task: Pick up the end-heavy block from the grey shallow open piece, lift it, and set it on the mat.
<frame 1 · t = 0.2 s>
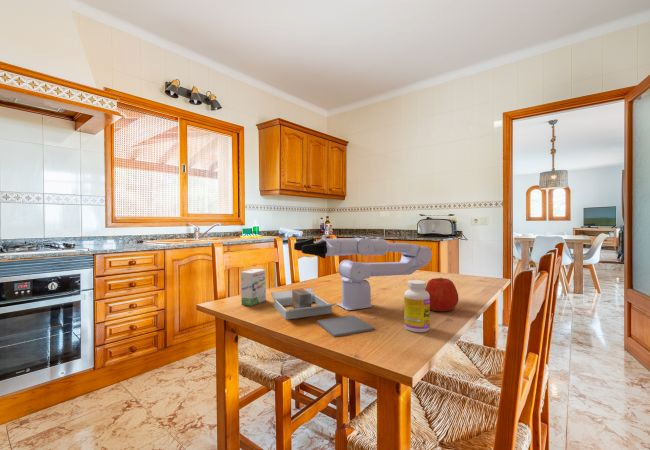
hand: (298, 248, 96), 21 cm above the table, tool horizontal, fingers open, 7 cm apart
grey shallow open piece: (301, 309, 101), on the table
apple: (440, 310, 100), on the table
mat: (344, 326, 85), on the table
end-heavy block: (301, 309, 101), resting in grey shallow open piece
ink box: (254, 303, 111), on the table
supplement bottle: (417, 329, 82), on the table
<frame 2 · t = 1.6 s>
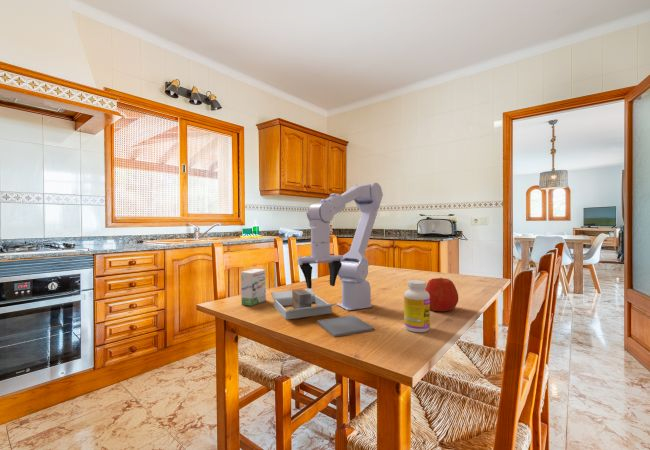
hand: (320, 286, 93), 9 cm above the table, tool pointing down, fingers open, 7 cm apart
nothing on the table moved.
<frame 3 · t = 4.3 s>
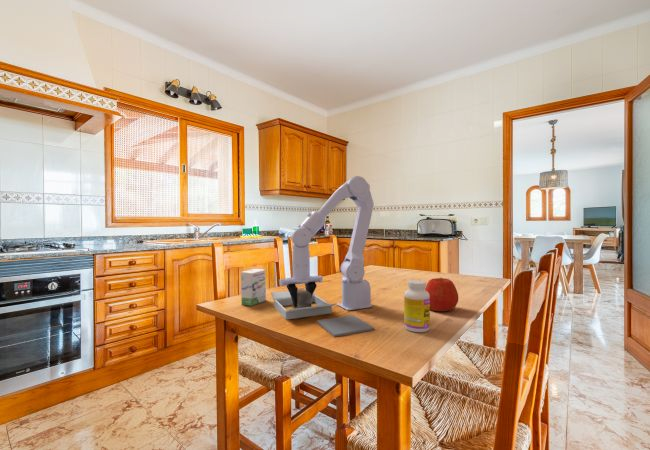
hand: (301, 305, 101), 1 cm above the table, tool pointing down, fingers closed on end-heavy block, 4 cm apart
end-heavy block: (301, 309, 101), resting in grey shallow open piece, touching gripper
everything else where it was.
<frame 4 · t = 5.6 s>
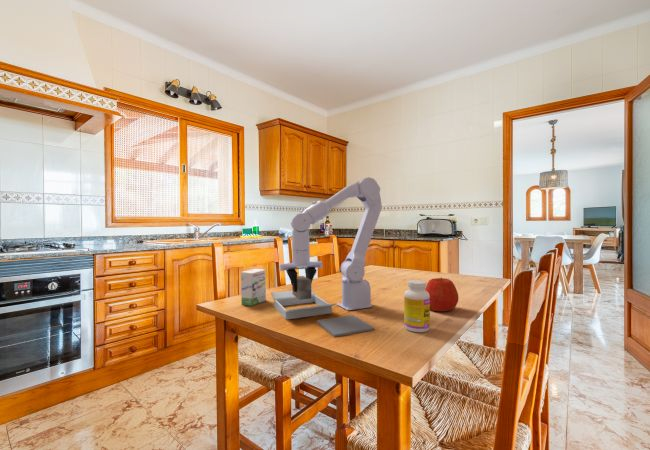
hand: (301, 290, 101), 6 cm above the table, tool pointing down, fingers closed on end-heavy block, 4 cm apart
end-heavy block: (301, 296, 101), point 4 cm above the table, touching gripper
everything else where it was.
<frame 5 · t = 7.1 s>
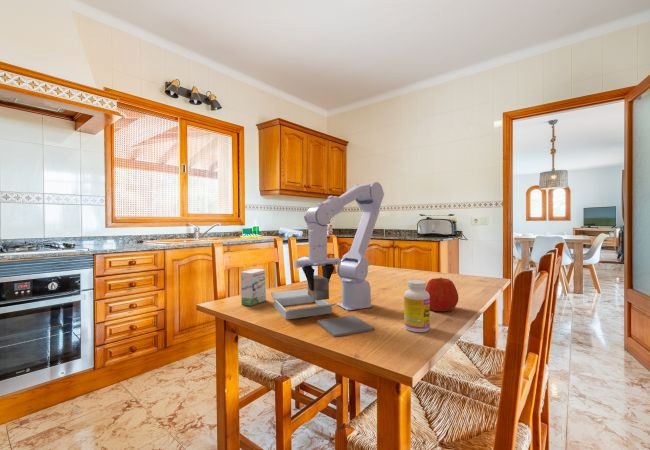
hand: (318, 289, 94), 8 cm above the table, tool pointing down, fingers closed on end-heavy block, 4 cm apart
end-heavy block: (318, 296, 94), point 6 cm above the table, touching gripper
everything else where it was.
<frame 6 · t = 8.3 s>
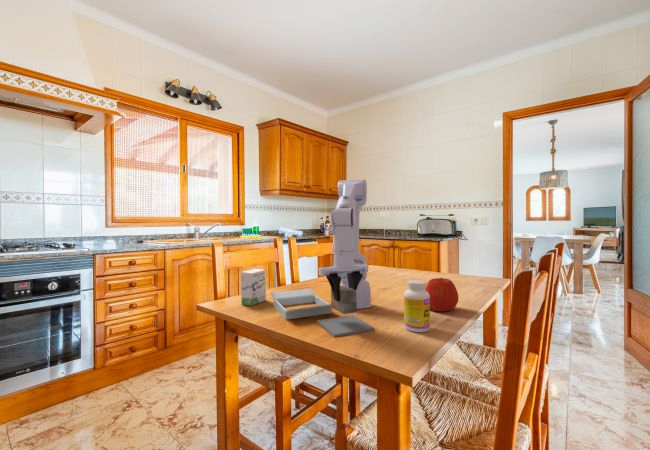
hand: (344, 299, 85), 8 cm above the table, tool pointing down, fingers closed on end-heavy block, 4 cm apart
end-heavy block: (343, 309, 85), point 4 cm above the table, touching gripper
everything else where it was.
when the fingers open (3 cm above the table, at t = 9.8 s): end-heavy block stays where it is, resting on mat.
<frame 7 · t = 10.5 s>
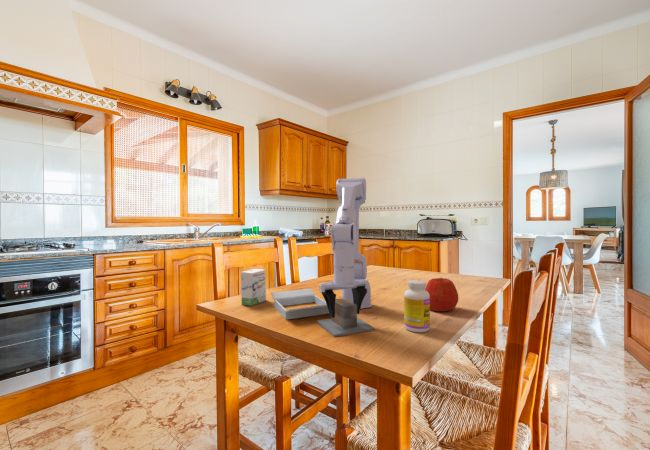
hand: (344, 314, 85), 3 cm above the table, tool pointing down, fingers open, 7 cm apart
end-heavy block: (343, 323, 86), point 1 cm above the table, touching mat
everything else where it was.
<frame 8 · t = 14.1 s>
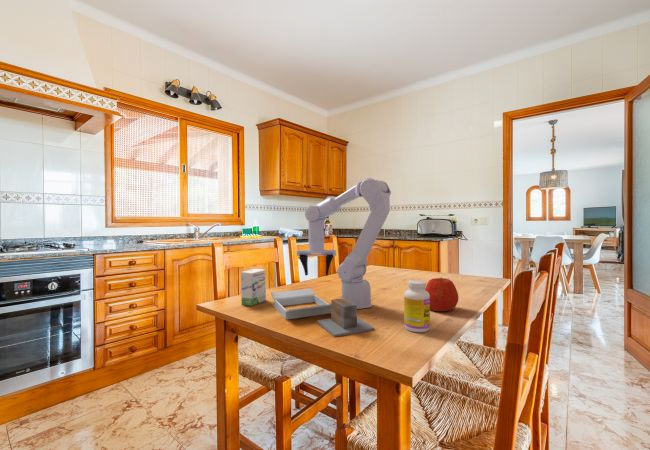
hand: (316, 275, 113), 9 cm above the table, tool pointing down, fingers open, 7 cm apart
nothing on the table moved.
at the end: end-heavy block inside the target area on the mat (0.5 cm from its centre), point 0.6 cm above the mat's base; end-heavy block tilted 0°; the gripper is holding nothing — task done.
